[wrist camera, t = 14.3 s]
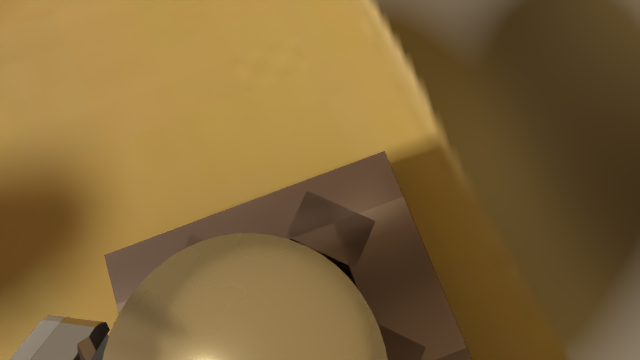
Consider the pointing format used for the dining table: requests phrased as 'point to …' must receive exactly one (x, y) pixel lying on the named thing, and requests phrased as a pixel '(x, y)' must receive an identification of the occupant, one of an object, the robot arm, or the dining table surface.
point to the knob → (246, 306)
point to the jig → (334, 251)
